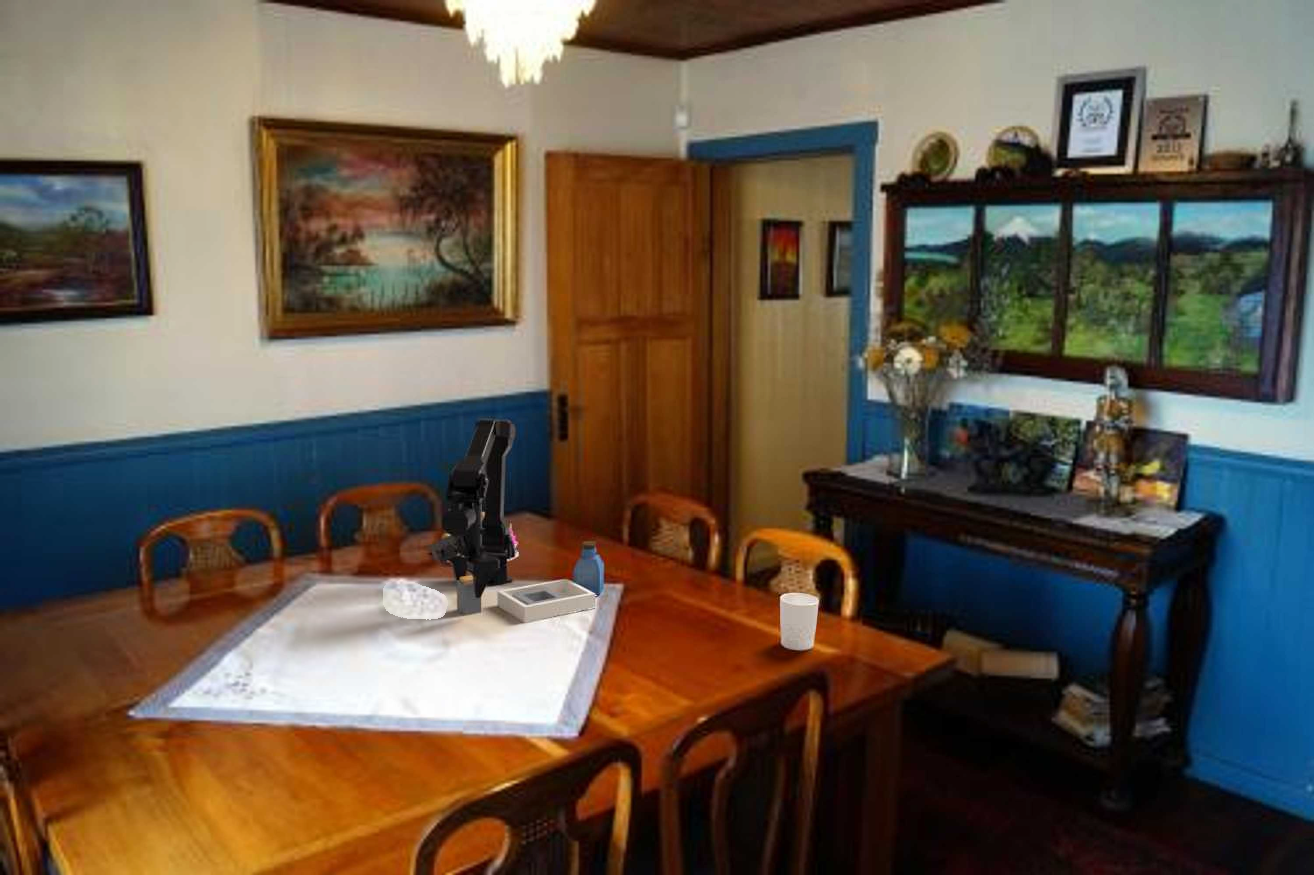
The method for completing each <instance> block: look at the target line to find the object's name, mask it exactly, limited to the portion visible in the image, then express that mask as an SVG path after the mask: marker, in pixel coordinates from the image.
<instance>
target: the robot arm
mask: <svg viewBox="0 0 1314 875" xmlns="http://www.w3.org/2000/svg"><path fill="white" fill-rule="evenodd" d="M474 430H475V431H474V434H473V435H472V439H471V441H470V444H469V446H468V449H467V451H466V452H467V453H466V454H465V457H464V458H463V459H461V460H459V461H458V462H456V463H455V464H456V465H455V466H454V467H453V469H452V472H450V474H449V479H448V484H447V488H446V493H445V498H444V501H445V502H446V503H448V502H450V508H449V509H448V510H447V511H446V512H445V513H443V516H442V518H441V526H442V528H443V530H444V531H445V532H446V534H450V536H448V537H445V538H443V539H441V540H440V539H438V540H437V541H435V542H433V543H432V544H429V548H430V551H431V552H430V553H431V554H432V557H433V559H434V560H436V561H438V562H439V564H443V563H446V562H447V560H448V561H449V562H450V566H451V569H452V571H453V575H454V579H455V582H456V583H457V580H460V577H464V576H467V572H468V573H469V574H470V575H472V576H473V583H474V591H475V596H476V598H480V597H481V598H482V596H483V594H484V591H485V589H486V587H487V585H488V586H495V585H500V584H506V583H510V582H513V581H514V579H513V578H511V577H510V576H508V561H507V559H511V558H514V557H515V551H516V548H515V545H514V542H513V539H512V536H511V535H510V524H509V523H508V522H507V521H508V520H507V519H506V518H505V516H504V512H505V511H504V509H505V488H506V487H505V485H506V482H505V481H506V480H505V479H506V458H507V457H506V456H507V455H508V453H509V451H510V450H511V448H512V447H513V444H514V440H515V437H516V426H515V424H513V423H512V422H511V420H510V419H495V418H494V419H492V418H480V419H477V420H476V422H475V429H474ZM483 500H484V512H485V515H484V518H483V520H482V512H483V511H482V504H483V503H482V502H483ZM506 550H507V551H506ZM514 559H515V558H514ZM449 562H448V563H449Z"/></svg>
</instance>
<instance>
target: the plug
mask: <svg viewBox="0 0 1314 875" xmlns="http://www.w3.org/2000/svg"><path fill="white" fill-rule="evenodd" d="M456 611H457V612H458V613H460V614H461V615H463V616H465V617H466V616H471V615H475V614H481V613H482V596H481V597H480V598H476V596H475V591H474V583H473V576H472V575H471V574H470V575H466V576H464V577H460V580H457V582H456Z"/></svg>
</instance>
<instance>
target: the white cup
mask: <svg viewBox="0 0 1314 875" xmlns="http://www.w3.org/2000/svg"><path fill="white" fill-rule="evenodd" d="M779 599H780V600H779V601H780V603H779V607H780V608H779V609H780V610H779V611H780V612H779V614H780V616H779V619H780V623H779V624H780V638H781V640H780V644H781V646H783V648H786V649H788V650H793V651H808V650H811V649H812V648H814V644H815V634H816V629H817V623H818V621H817V620H818V611H819V610H818V609H819V602H820V601H819V598H818V597H817V596H814V595H812V594H808V593H804V592H803V593H802V592H791V593H784V594H782V595H780V597H779Z"/></svg>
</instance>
